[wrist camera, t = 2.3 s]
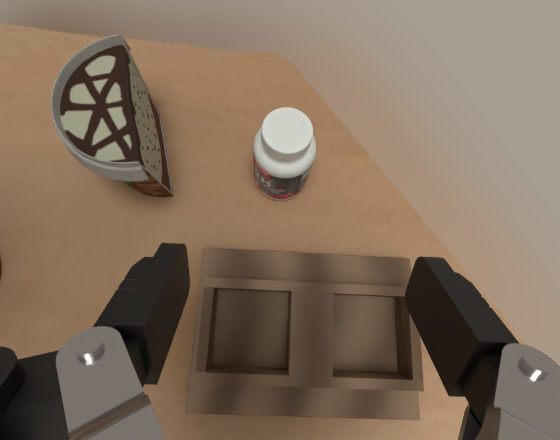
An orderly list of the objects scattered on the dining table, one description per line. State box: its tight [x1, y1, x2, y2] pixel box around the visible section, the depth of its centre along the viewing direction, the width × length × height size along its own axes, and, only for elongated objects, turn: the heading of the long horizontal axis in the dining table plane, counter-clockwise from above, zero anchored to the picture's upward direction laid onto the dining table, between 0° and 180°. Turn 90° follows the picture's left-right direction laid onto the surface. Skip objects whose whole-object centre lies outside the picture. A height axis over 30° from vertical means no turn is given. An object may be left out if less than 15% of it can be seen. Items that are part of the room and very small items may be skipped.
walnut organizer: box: [186, 248, 424, 420], centre depth 28 cm, size 20×14×4 cm
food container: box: [51, 34, 174, 197], centre depth 28 cm, size 12×6×10 cm, turn 13°
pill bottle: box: [253, 107, 316, 201], centre depth 29 cm, size 5×5×10 cm
